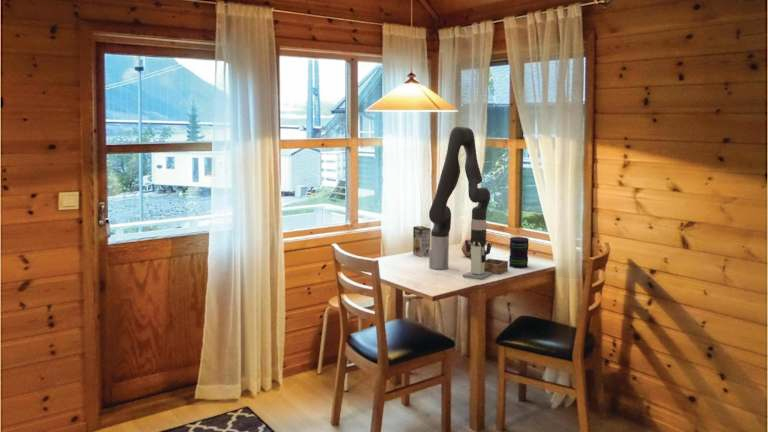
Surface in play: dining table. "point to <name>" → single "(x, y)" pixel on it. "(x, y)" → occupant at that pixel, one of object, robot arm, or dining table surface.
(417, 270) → the dining table surface
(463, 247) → the onion
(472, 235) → the robot arm
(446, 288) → the dining table surface
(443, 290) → the dining table surface
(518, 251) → the dark blue cylinder
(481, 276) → the blue-grey square panel
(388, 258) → the dining table surface
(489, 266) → the crate
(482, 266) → the tea tin
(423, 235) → the coffee box
